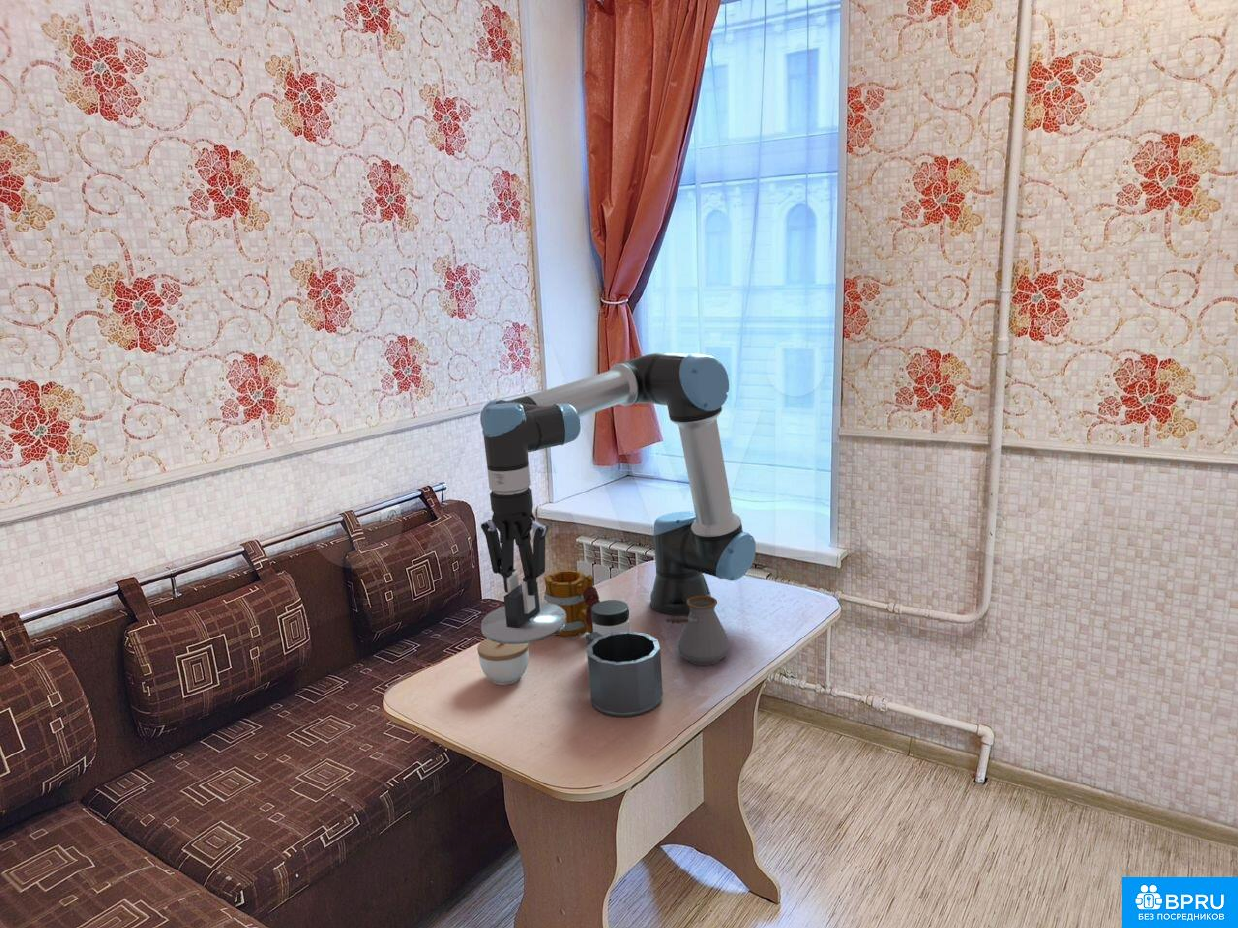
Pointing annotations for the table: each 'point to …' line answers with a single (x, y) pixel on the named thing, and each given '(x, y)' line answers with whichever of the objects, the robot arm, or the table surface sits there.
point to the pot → (624, 673)
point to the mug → (572, 599)
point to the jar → (610, 617)
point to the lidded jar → (503, 661)
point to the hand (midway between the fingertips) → (522, 609)
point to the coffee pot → (701, 633)
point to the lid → (522, 620)
